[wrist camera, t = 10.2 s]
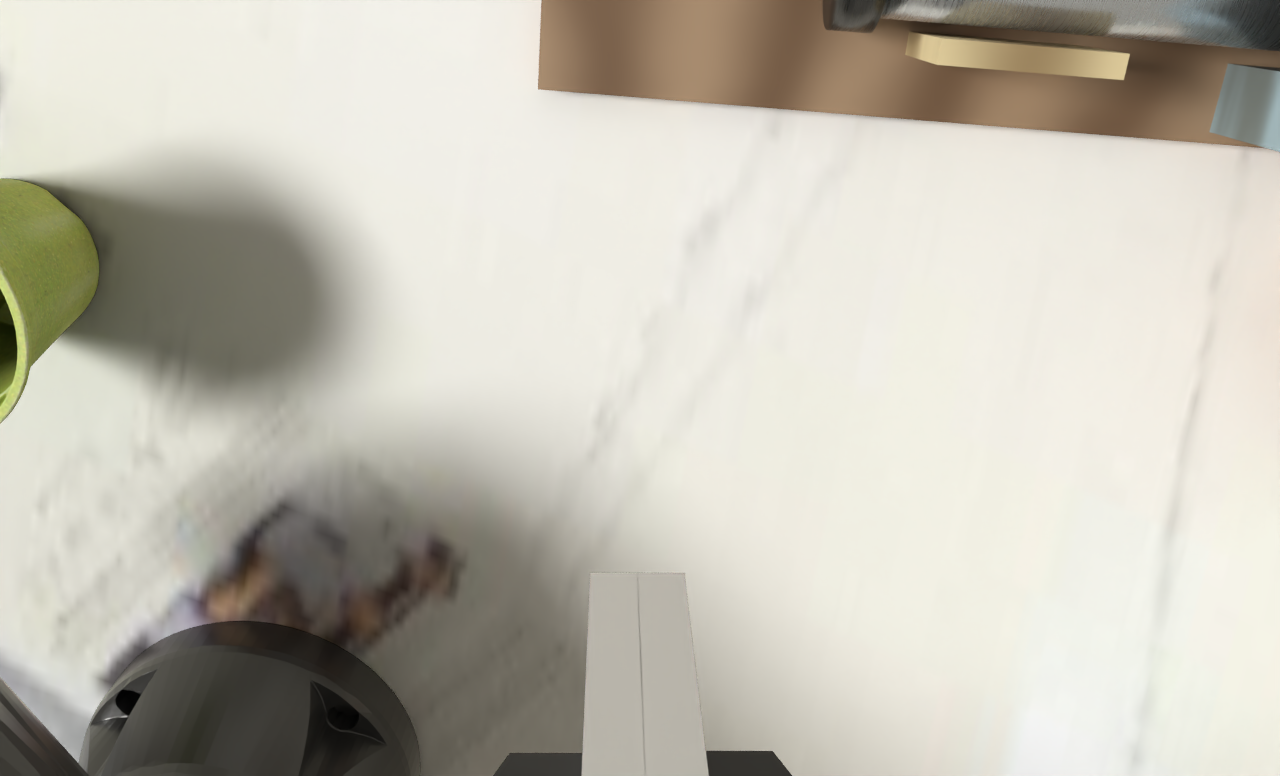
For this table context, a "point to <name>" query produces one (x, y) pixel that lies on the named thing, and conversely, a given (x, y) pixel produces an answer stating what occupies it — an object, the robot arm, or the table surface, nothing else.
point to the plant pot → (38, 279)
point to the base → (910, 70)
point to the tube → (1082, 18)
